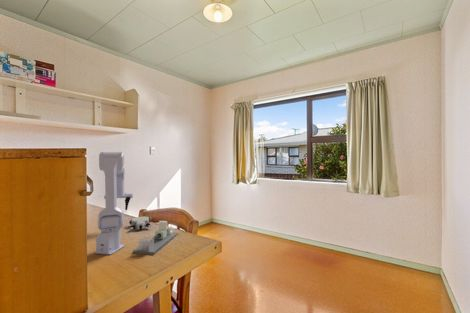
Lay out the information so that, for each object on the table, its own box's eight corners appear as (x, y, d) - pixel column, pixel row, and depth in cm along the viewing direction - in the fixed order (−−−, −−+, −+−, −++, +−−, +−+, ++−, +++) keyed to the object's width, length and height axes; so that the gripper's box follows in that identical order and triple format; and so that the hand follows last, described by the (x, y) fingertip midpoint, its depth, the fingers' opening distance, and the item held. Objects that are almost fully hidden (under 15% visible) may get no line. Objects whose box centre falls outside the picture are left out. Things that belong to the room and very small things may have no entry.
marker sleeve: (163, 239, 109) (162, 224, 109) (155, 238, 109) (155, 223, 109) (167, 235, 113) (167, 221, 113) (160, 235, 114) (160, 220, 114)
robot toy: (152, 231, 127) (150, 221, 140) (152, 223, 126) (150, 214, 140) (128, 234, 122) (129, 224, 135) (128, 226, 121) (129, 217, 135)
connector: (149, 251, 96) (149, 241, 96) (138, 250, 97) (138, 240, 97) (155, 246, 101) (155, 236, 101) (145, 245, 102) (145, 236, 102)
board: (154, 254, 95) (154, 243, 95) (132, 252, 97) (132, 242, 97) (177, 234, 118) (177, 225, 118) (160, 233, 120) (160, 224, 120)
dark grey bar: (147, 246, 98) (147, 243, 98) (144, 246, 98) (144, 243, 98) (168, 230, 117) (168, 228, 117) (166, 230, 117) (166, 228, 117)
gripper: (133, 185, 133) (133, 206, 135) (106, 185, 129) (107, 208, 131) (131, 188, 127) (131, 211, 129) (102, 189, 123) (103, 212, 125)
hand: (119, 209), depth 129 cm, fingers open, 7 cm apart
